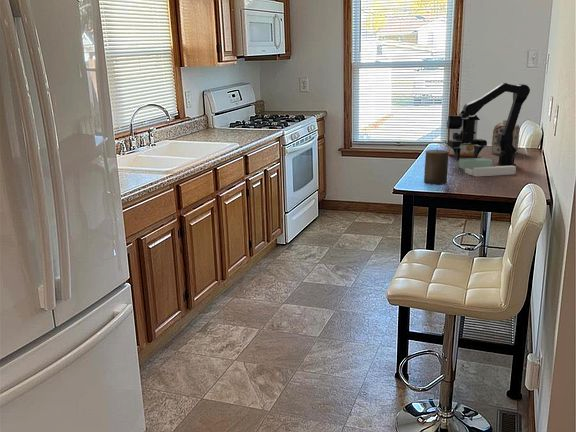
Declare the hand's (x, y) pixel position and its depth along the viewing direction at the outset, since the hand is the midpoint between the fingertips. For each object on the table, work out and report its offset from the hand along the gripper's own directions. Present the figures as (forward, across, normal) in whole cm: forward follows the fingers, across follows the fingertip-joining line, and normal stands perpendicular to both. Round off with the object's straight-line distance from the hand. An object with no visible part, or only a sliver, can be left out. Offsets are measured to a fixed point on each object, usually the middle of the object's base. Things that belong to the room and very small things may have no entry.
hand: (466, 160), depth 285 cm
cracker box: (+2, -11, -24) cm, 27 cm away
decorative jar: (+2, -37, -24) cm, 44 cm away
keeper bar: (+2, 0, +9) cm, 9 cm away
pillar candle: (+2, +33, +33) cm, 47 cm away
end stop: (+2, 0, +23) cm, 23 cm away
